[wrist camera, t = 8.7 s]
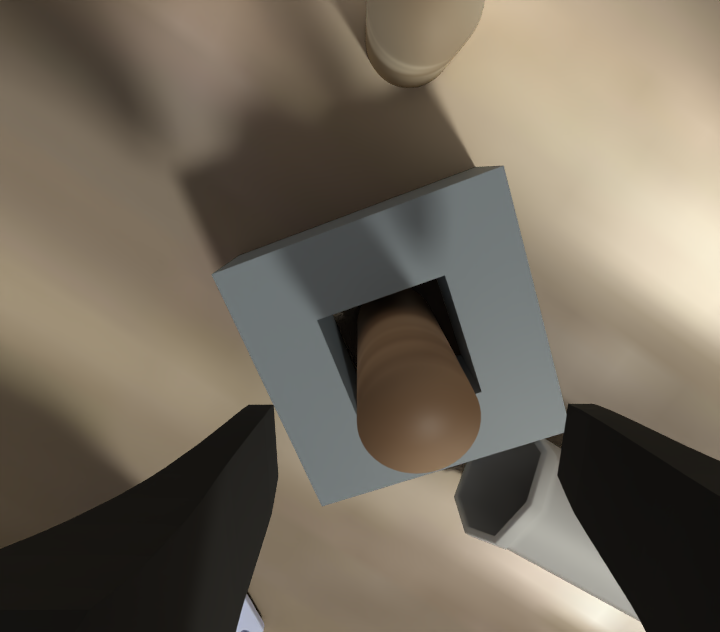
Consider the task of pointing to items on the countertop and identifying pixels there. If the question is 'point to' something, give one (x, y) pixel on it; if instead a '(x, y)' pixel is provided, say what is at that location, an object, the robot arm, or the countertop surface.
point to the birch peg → (417, 37)
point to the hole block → (384, 277)
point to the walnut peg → (411, 387)
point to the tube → (534, 517)
